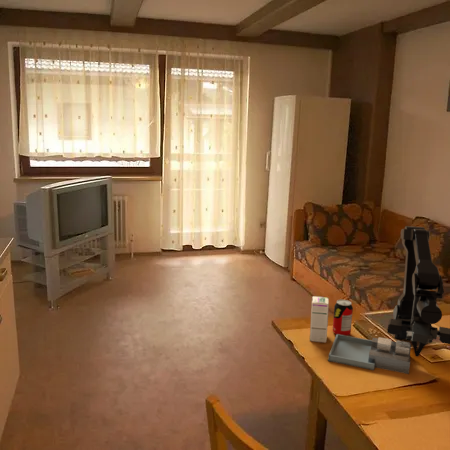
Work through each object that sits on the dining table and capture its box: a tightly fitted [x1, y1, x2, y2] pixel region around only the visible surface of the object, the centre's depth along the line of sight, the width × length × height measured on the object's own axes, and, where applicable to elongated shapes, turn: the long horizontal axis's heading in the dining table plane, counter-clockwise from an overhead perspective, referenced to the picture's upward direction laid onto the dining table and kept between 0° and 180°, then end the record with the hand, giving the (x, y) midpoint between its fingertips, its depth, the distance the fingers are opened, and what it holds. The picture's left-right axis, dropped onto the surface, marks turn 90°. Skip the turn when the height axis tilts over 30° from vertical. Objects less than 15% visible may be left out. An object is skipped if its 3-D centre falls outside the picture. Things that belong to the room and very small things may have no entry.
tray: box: [327, 334, 376, 371], centre depth 157 cm, size 16×14×2 cm
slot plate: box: [368, 337, 412, 375], centre depth 153 cm, size 12×12×4 cm
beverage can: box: [332, 298, 354, 336], centre depth 169 cm, size 6×6×12 cm
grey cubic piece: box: [395, 340, 411, 357], centre depth 151 cm, size 4×4×4 cm
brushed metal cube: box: [377, 336, 393, 354], centre depth 153 cm, size 4×4×4 cm
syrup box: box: [309, 295, 330, 344], centre depth 165 cm, size 6×6×14 cm
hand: (416, 355), depth 150 cm, fingers closed
